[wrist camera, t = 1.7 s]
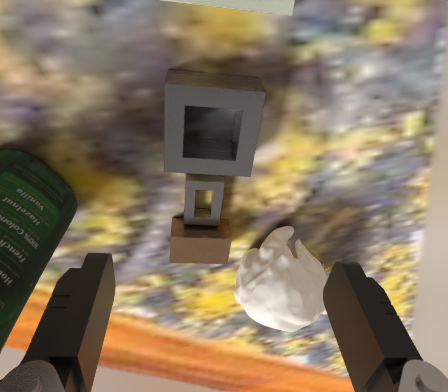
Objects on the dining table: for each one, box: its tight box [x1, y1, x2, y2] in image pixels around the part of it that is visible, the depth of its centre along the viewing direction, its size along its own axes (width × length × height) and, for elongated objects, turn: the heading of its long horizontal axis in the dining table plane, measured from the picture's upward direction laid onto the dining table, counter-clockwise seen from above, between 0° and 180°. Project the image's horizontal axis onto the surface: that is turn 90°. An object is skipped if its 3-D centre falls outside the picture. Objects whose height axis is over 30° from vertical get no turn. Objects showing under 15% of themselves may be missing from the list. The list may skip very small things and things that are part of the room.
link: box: [164, 69, 266, 177], centre depth 22 cm, size 6×6×3 cm
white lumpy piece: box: [234, 226, 331, 332], centre depth 30 cm, size 6×8×12 cm
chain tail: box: [170, 173, 231, 264], centre depth 28 cm, size 5×8×2 cm, turn 174°
